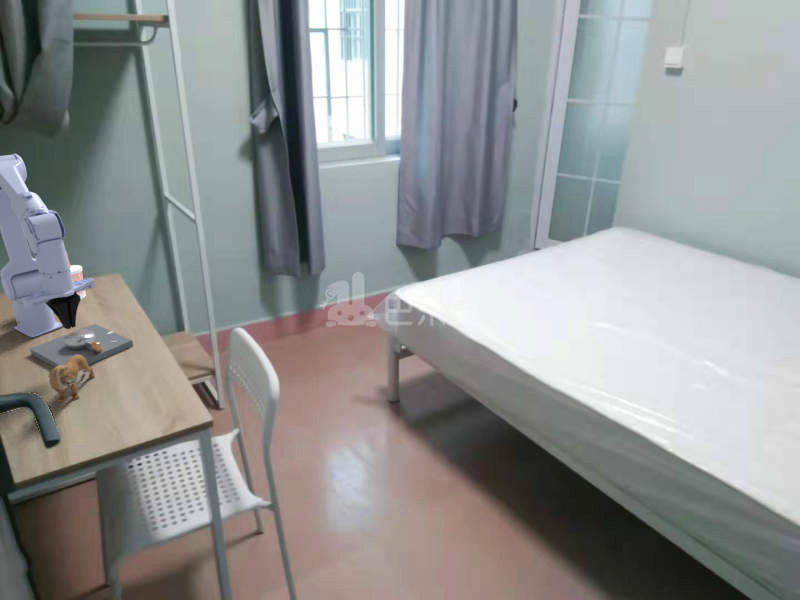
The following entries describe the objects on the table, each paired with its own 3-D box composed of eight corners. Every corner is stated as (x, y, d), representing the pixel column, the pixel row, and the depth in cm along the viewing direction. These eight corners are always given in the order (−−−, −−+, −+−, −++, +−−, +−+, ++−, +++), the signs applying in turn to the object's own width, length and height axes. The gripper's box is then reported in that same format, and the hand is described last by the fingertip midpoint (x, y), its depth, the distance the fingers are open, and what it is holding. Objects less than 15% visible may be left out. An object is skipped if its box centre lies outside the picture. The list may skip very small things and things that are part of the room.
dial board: (31, 354, 134) (29, 348, 134) (96, 329, 146) (95, 323, 146) (67, 374, 126) (65, 368, 125) (133, 345, 138) (132, 339, 138)
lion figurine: (80, 408, 114) (70, 370, 111) (51, 412, 113) (39, 373, 109) (97, 371, 127) (89, 335, 124) (71, 374, 126) (62, 338, 123)
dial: (60, 345, 135) (58, 336, 134) (87, 334, 140) (85, 326, 139) (86, 358, 129) (84, 349, 128) (113, 346, 134) (111, 338, 133)
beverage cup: (76, 292, 168) (65, 247, 162) (93, 294, 167) (83, 249, 161) (60, 300, 163) (48, 254, 157) (77, 303, 161) (66, 256, 156)
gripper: (27, 284, 114) (45, 344, 119) (97, 263, 125) (110, 319, 130) (11, 277, 117) (28, 335, 123) (80, 257, 128) (93, 312, 134)
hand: (69, 326), depth 127 cm, fingers closed
